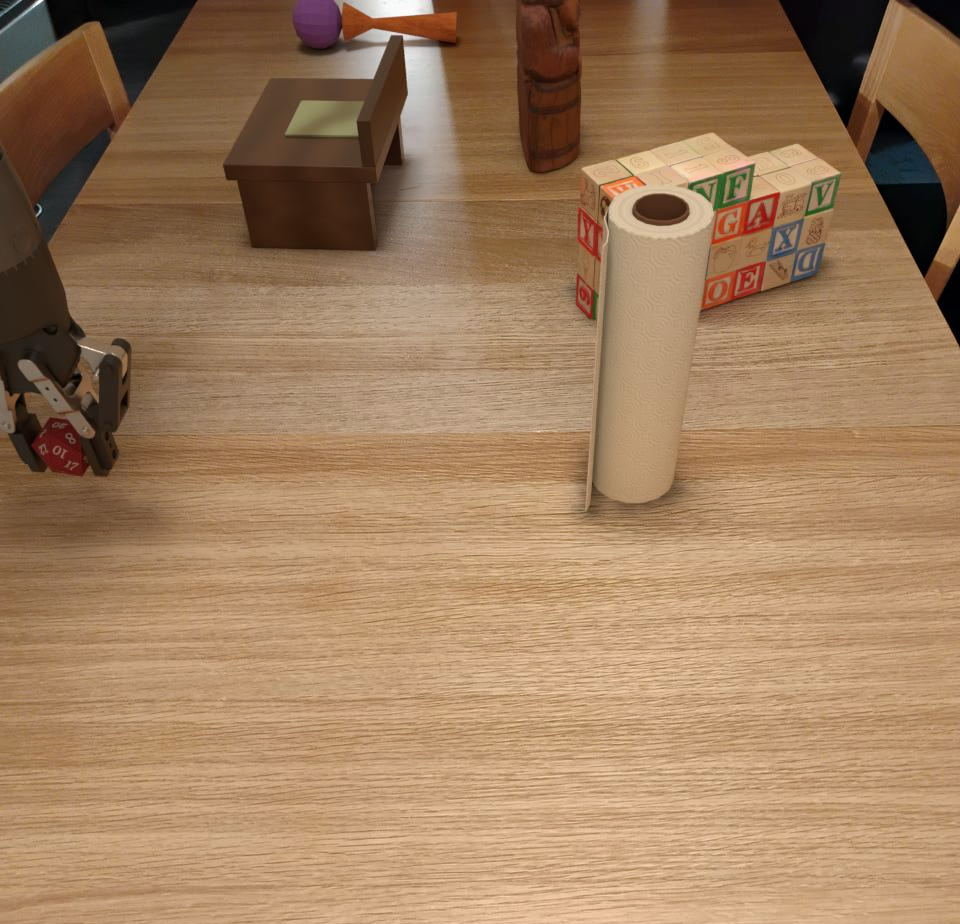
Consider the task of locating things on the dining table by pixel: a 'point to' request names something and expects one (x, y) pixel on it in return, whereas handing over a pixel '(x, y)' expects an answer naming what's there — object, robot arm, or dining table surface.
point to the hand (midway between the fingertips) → (74, 465)
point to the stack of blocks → (722, 212)
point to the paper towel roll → (645, 337)
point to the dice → (61, 447)
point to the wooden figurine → (549, 81)
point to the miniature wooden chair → (320, 156)
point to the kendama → (364, 23)
